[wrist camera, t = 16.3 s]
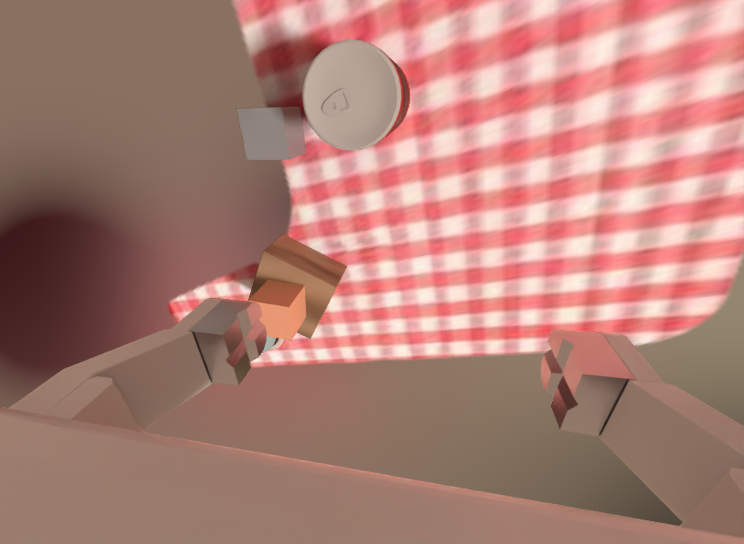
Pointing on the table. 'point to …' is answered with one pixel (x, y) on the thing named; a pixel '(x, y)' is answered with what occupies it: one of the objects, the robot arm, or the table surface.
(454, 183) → the table surface
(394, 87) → the canned food
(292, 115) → the gray metal cube
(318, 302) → the walnut block
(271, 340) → the pacifier
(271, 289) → the terracotta cube
